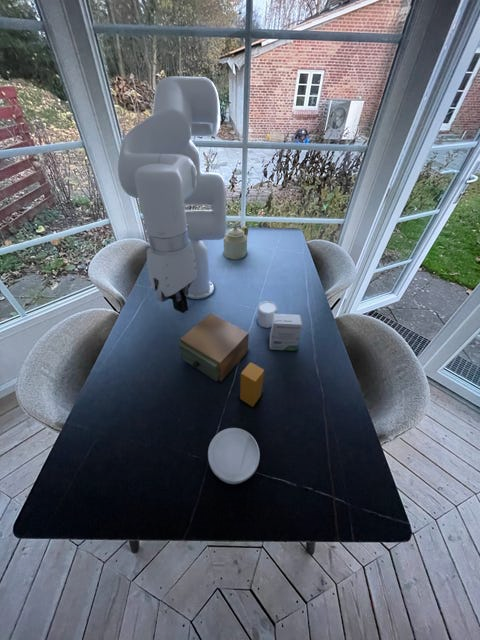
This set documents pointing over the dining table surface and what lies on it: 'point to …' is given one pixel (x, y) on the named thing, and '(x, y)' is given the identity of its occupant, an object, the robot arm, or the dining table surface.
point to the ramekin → (233, 455)
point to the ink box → (285, 331)
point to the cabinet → (218, 342)
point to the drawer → (199, 361)
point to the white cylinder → (266, 313)
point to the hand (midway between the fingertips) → (181, 309)
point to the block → (251, 384)
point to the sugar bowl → (236, 242)
